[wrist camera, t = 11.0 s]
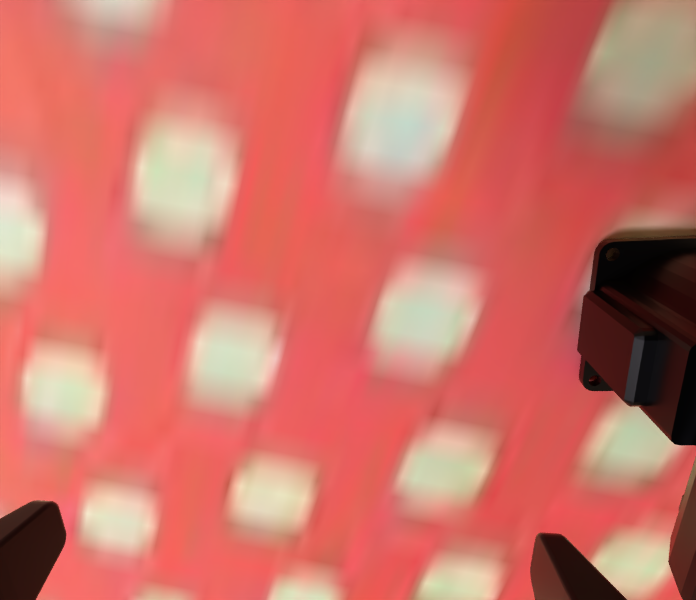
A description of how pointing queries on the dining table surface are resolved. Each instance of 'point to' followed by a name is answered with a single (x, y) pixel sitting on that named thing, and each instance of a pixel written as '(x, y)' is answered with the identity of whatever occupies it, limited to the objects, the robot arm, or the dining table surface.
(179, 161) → the dining table surface
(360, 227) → the dining table surface
